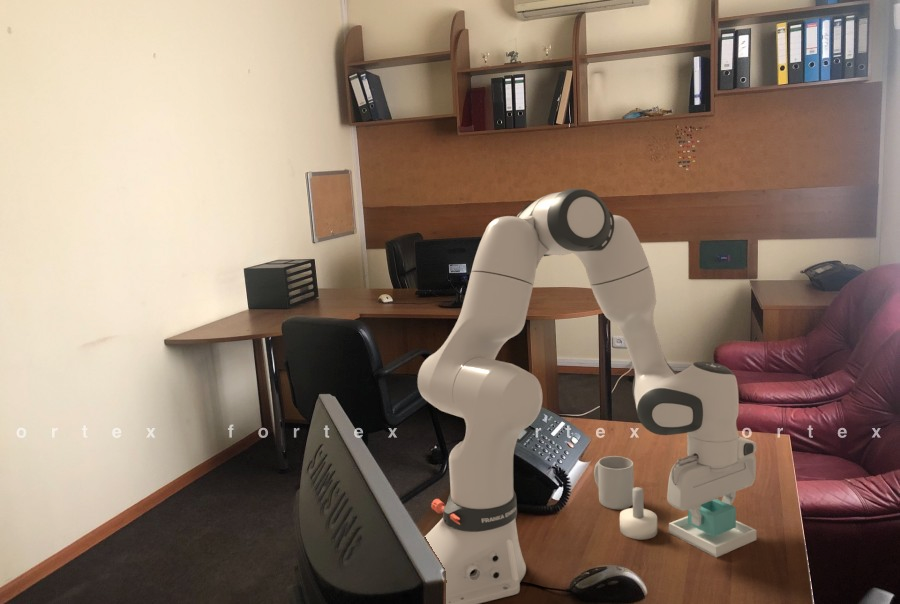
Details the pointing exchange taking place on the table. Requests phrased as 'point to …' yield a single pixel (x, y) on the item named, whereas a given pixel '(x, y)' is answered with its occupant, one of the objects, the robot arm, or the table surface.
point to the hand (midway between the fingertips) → (711, 518)
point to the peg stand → (638, 519)
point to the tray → (713, 544)
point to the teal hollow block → (716, 517)
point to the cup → (615, 482)
